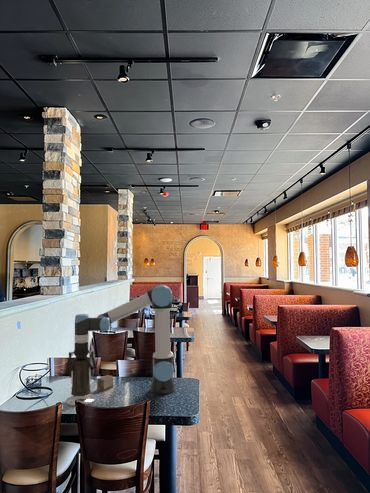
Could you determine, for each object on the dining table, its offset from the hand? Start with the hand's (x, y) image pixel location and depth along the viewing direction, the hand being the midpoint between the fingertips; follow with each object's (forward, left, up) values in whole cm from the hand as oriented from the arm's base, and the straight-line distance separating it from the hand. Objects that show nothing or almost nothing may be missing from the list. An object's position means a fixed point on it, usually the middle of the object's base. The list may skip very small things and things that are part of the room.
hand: (81, 382), depth 215 cm
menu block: (+7, -22, -11) cm, 25 cm away
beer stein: (0, 0, -7) cm, 7 cm away
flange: (0, 0, -11) cm, 11 cm away
